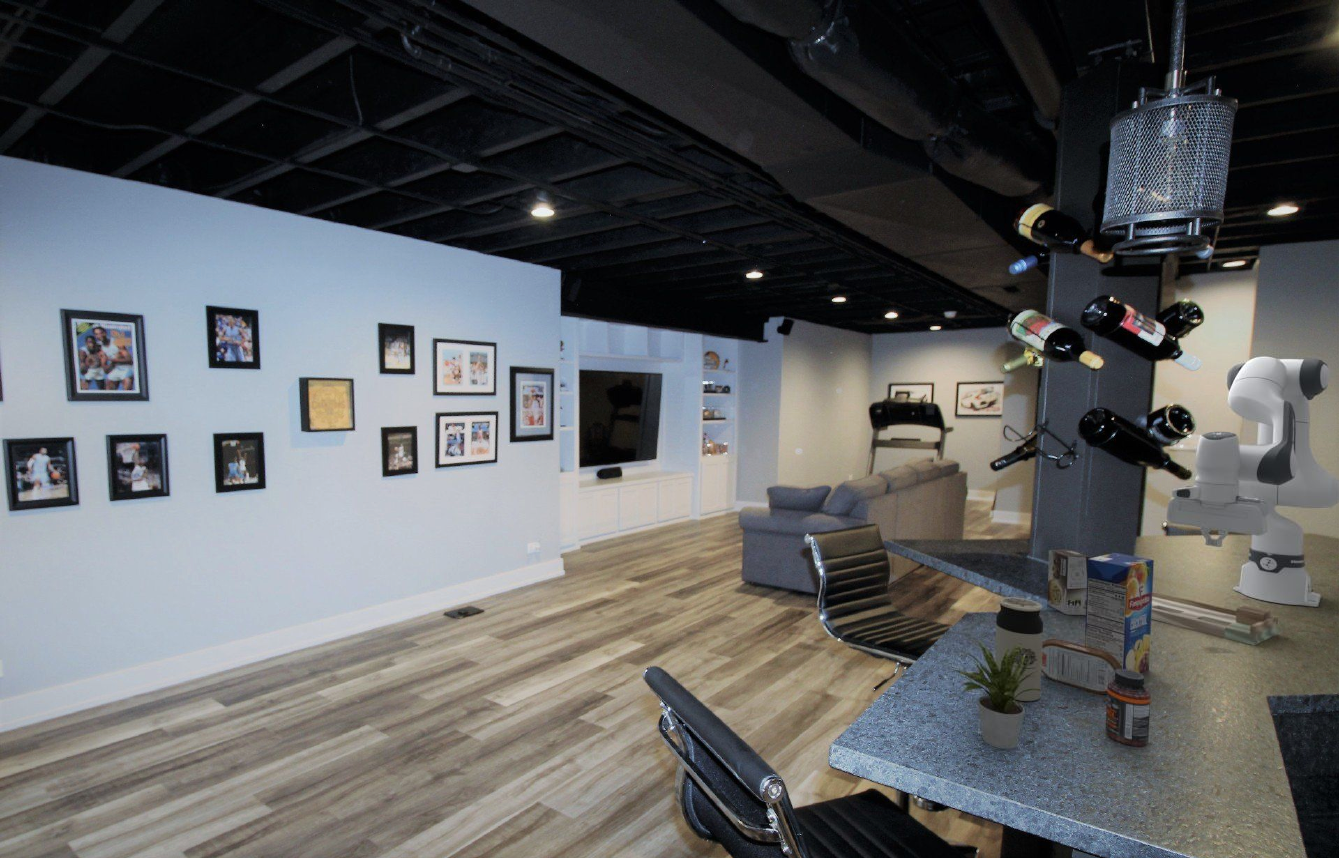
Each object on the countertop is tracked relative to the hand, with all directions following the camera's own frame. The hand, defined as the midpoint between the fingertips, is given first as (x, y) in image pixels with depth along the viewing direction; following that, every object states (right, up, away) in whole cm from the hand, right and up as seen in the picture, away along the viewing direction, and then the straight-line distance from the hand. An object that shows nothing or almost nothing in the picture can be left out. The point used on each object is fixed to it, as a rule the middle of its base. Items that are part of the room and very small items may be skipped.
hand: (1213, 545), depth 164 cm
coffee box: (-32, -20, +10) cm, 39 cm away
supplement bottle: (-66, -22, -58) cm, 90 cm away
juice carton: (-47, -21, -30) cm, 60 cm away
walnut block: (+4, -18, -7) cm, 20 cm away
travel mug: (-75, -21, -42) cm, 88 cm away
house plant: (-87, -22, -58) cm, 107 cm away
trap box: (-4, -20, +1) cm, 21 cm away
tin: (-61, -22, -38) cm, 75 cm away
